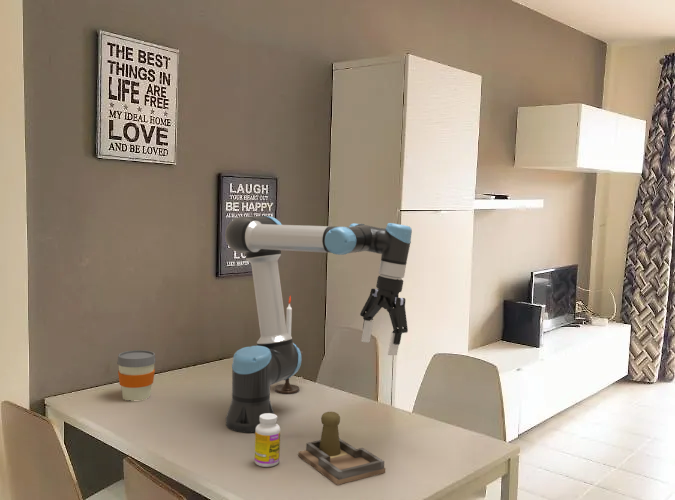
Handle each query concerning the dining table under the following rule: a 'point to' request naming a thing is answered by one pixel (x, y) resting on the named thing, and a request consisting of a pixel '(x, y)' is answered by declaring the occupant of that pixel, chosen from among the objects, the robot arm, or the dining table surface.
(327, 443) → the olive tall rounded piece
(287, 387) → the candlestick
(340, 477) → the keyhole board
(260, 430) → the supplement bottle
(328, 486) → the dining table surface
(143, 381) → the reusable coffee cup
